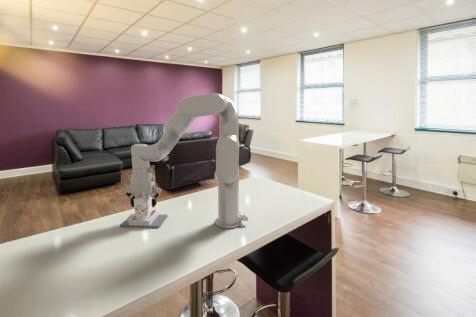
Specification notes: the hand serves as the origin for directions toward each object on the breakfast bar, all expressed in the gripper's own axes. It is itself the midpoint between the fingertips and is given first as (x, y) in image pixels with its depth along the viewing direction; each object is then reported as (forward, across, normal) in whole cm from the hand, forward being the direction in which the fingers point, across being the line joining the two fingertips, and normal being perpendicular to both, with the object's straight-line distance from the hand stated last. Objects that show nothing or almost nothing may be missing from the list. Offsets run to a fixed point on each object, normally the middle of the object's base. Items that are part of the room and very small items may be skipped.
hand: (143, 206), depth 129 cm
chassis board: (+8, 0, 0) cm, 8 cm away
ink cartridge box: (+7, 0, 0) cm, 7 cm away
